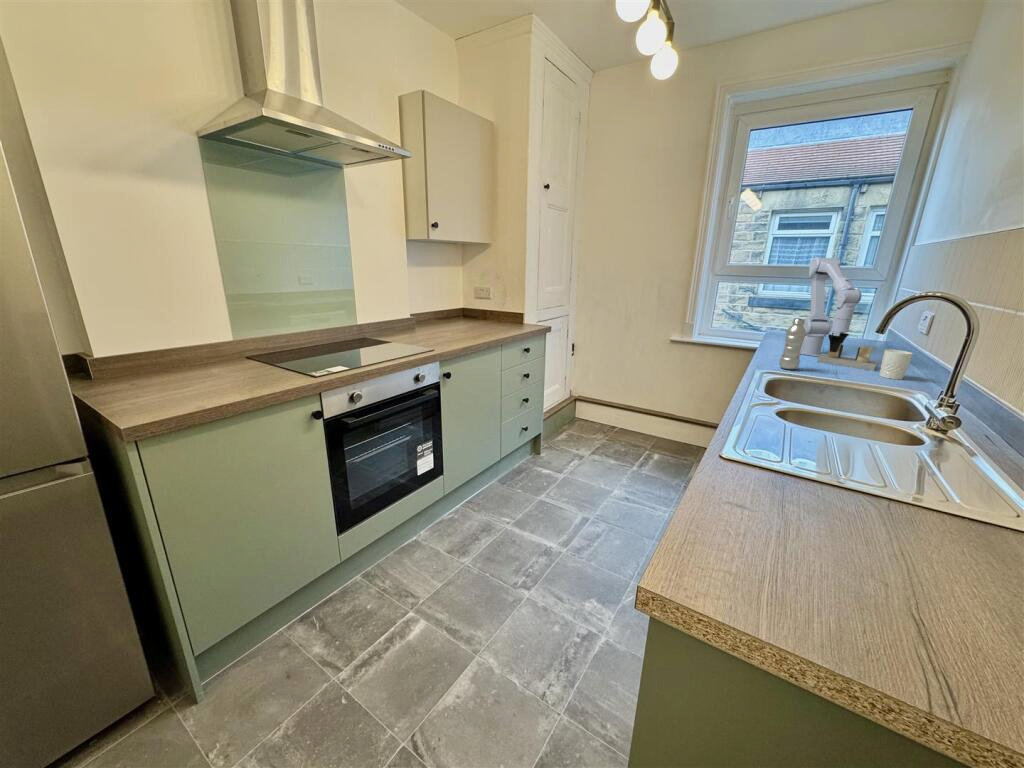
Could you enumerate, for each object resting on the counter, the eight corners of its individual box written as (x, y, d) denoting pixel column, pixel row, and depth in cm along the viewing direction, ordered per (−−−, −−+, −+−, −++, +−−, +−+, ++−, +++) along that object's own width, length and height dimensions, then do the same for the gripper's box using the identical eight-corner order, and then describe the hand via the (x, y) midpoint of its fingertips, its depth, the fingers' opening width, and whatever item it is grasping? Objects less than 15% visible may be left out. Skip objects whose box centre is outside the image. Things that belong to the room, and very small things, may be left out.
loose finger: (826, 359, 176) (830, 343, 174) (828, 357, 178) (832, 342, 176) (838, 361, 173) (842, 344, 171) (839, 359, 176) (844, 343, 174)
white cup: (872, 375, 157) (880, 350, 154) (883, 373, 160) (891, 348, 157) (898, 381, 150) (906, 354, 147) (909, 379, 154) (917, 353, 151)
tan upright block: (867, 363, 169) (872, 347, 167) (866, 365, 167) (871, 348, 165) (855, 362, 172) (859, 345, 170) (854, 363, 169) (858, 346, 167)
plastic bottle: (801, 371, 160) (814, 320, 154) (784, 370, 160) (796, 319, 154) (791, 367, 166) (802, 318, 160) (774, 366, 166) (785, 317, 161)
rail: (816, 362, 177) (818, 356, 176) (820, 359, 182) (821, 353, 181) (873, 371, 164) (875, 364, 163) (875, 367, 169) (877, 361, 168)
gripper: (852, 321, 163) (843, 354, 167) (857, 318, 173) (848, 350, 177) (830, 319, 168) (822, 351, 172) (836, 316, 178) (828, 347, 182)
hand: (834, 350), depth 175 cm, fingers open, 7 cm apart
